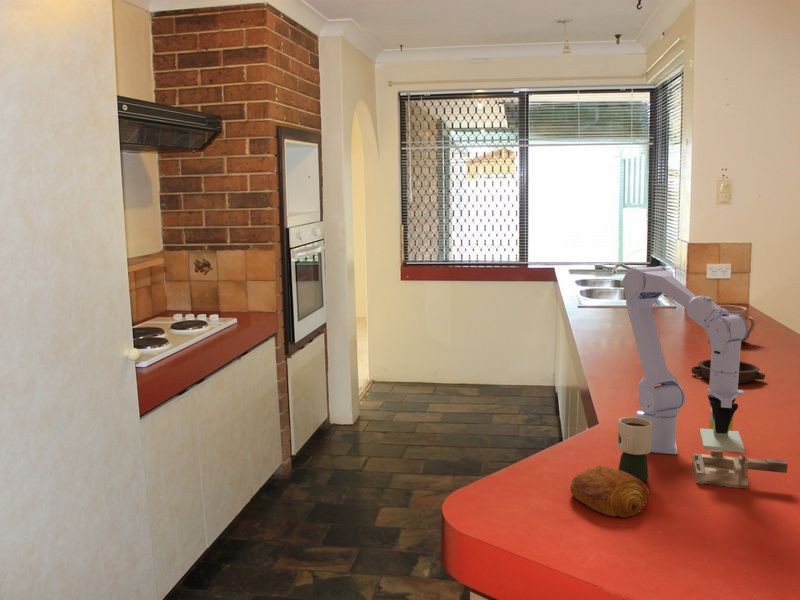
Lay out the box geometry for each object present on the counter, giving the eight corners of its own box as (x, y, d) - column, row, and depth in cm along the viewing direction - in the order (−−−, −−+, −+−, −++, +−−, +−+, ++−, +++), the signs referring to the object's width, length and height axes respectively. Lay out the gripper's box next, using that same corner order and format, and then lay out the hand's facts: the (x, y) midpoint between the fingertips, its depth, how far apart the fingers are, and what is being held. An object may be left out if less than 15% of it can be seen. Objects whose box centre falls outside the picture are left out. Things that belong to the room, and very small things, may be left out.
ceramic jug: (702, 343, 300) (705, 308, 297) (705, 336, 312) (708, 302, 310) (752, 349, 292) (756, 312, 289) (753, 341, 305) (756, 306, 302)
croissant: (604, 535, 144) (608, 497, 141) (557, 493, 157) (560, 459, 155) (664, 519, 149) (669, 483, 147) (613, 480, 163) (618, 447, 160)
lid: (703, 449, 161) (704, 427, 160) (699, 431, 171) (700, 411, 170) (744, 452, 159) (745, 430, 158) (738, 434, 169) (739, 414, 168)
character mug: (622, 468, 171) (624, 412, 169) (654, 474, 167) (657, 417, 165) (609, 485, 161) (612, 426, 159) (644, 491, 158) (647, 431, 156)
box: (696, 483, 162) (697, 459, 161) (692, 463, 173) (693, 440, 172) (747, 489, 159) (749, 464, 158) (739, 468, 170) (741, 445, 169)
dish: (766, 390, 234) (767, 374, 234) (689, 383, 243) (690, 367, 242) (763, 376, 250) (764, 361, 249) (691, 370, 259) (692, 356, 258)
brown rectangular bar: (747, 469, 160) (747, 460, 160) (745, 465, 162) (746, 456, 162) (786, 473, 158) (787, 463, 158) (784, 469, 160) (785, 460, 160)
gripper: (749, 380, 156) (744, 443, 159) (740, 363, 170) (736, 422, 172) (712, 377, 158) (708, 439, 161) (706, 361, 172) (702, 419, 174)
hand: (720, 430), depth 167 cm, fingers closed on lid, 3 cm apart
